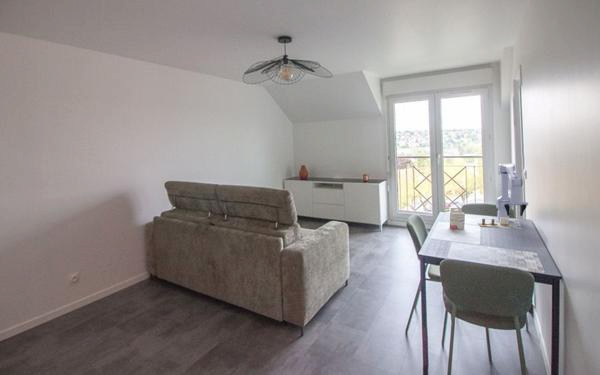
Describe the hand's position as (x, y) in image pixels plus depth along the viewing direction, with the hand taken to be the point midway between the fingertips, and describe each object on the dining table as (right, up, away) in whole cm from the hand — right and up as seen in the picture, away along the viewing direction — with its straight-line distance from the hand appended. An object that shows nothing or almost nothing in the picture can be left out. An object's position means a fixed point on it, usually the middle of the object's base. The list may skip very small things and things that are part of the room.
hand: (514, 215), depth 222 cm
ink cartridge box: (-34, -11, +10) cm, 37 cm away
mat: (+2, -8, +14) cm, 16 cm away
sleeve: (+2, -8, +14) cm, 16 cm away
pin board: (-10, -9, +14) cm, 19 cm away
